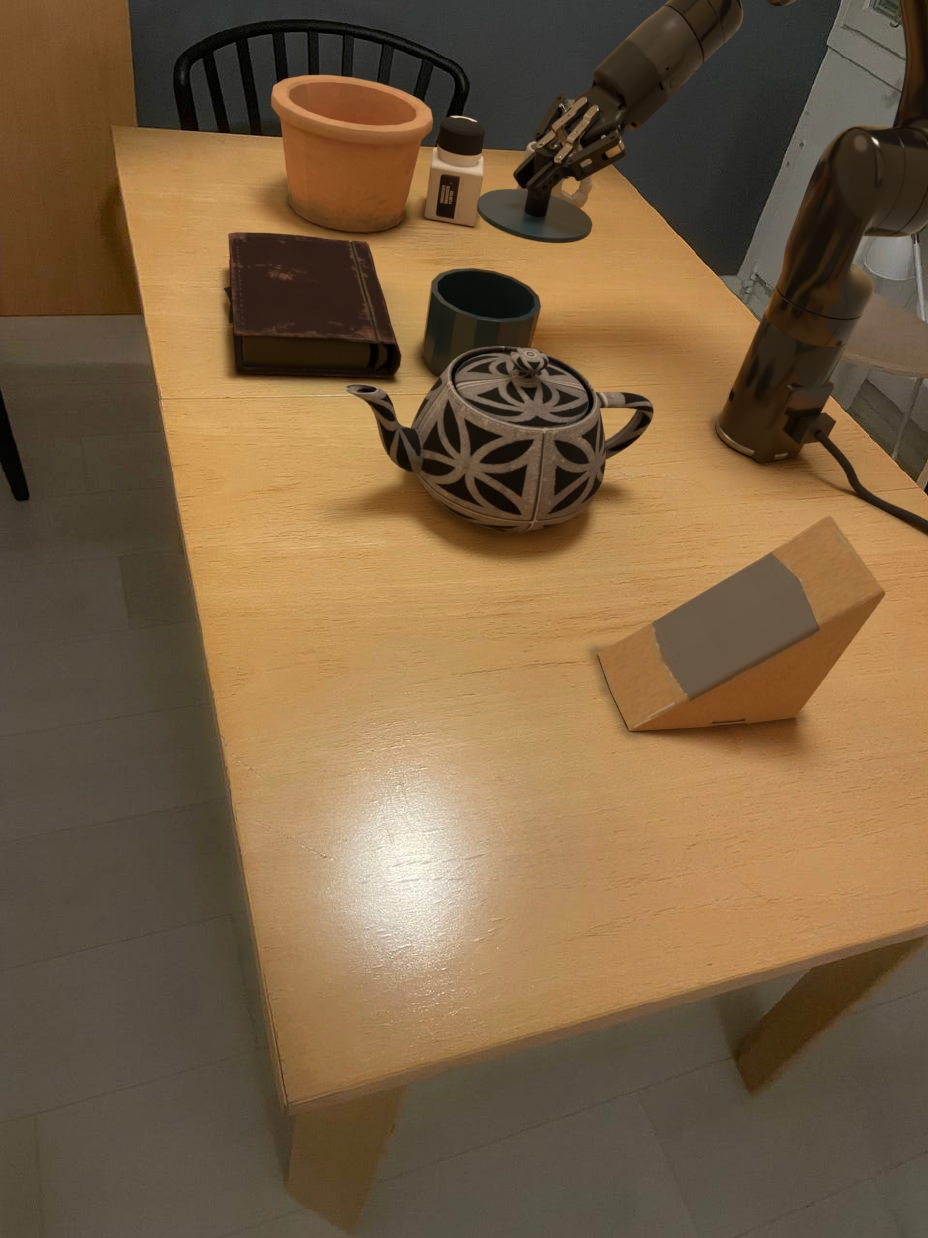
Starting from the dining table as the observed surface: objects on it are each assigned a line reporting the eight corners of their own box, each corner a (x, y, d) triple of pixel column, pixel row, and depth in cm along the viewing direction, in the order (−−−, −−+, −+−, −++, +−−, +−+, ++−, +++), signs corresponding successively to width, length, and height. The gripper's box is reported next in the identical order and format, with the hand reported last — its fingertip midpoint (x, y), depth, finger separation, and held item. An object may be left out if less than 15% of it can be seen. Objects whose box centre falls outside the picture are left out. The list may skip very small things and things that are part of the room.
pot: (542, 384, 103) (559, 317, 97) (447, 394, 98) (458, 324, 92) (497, 331, 110) (510, 266, 104) (406, 338, 105) (414, 269, 99)
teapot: (318, 438, 89) (326, 297, 78) (592, 430, 98) (631, 303, 87) (355, 566, 76) (370, 420, 66) (663, 543, 86) (720, 412, 75)
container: (474, 227, 132) (490, 134, 123) (423, 218, 131) (435, 124, 122) (475, 207, 137) (490, 117, 128) (426, 199, 137) (438, 107, 127)
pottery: (238, 198, 125) (236, 86, 115) (339, 168, 139) (345, 66, 129) (355, 255, 119) (363, 141, 109) (448, 217, 133) (463, 114, 123)
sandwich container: (594, 651, 74) (649, 513, 63) (753, 642, 78) (830, 512, 67) (627, 733, 68) (694, 598, 58) (797, 719, 72) (889, 590, 62)
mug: (508, 202, 141) (523, 120, 133) (579, 213, 143) (599, 133, 134) (511, 221, 136) (527, 138, 127) (585, 232, 138) (606, 151, 129)
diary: (369, 277, 115) (373, 239, 112) (399, 380, 99) (403, 339, 95) (222, 268, 110) (221, 227, 107) (227, 375, 94) (226, 331, 90)
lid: (610, 247, 99) (630, 176, 94) (506, 250, 94) (521, 175, 89) (556, 198, 107) (571, 130, 102) (457, 199, 102) (467, 127, 97)
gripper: (601, 18, 95) (480, 138, 99) (671, 59, 86) (536, 188, 90) (627, 76, 100) (512, 187, 104) (695, 120, 92) (568, 238, 96)
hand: (524, 187), depth 97 cm, fingers closed on lid, 2 cm apart
